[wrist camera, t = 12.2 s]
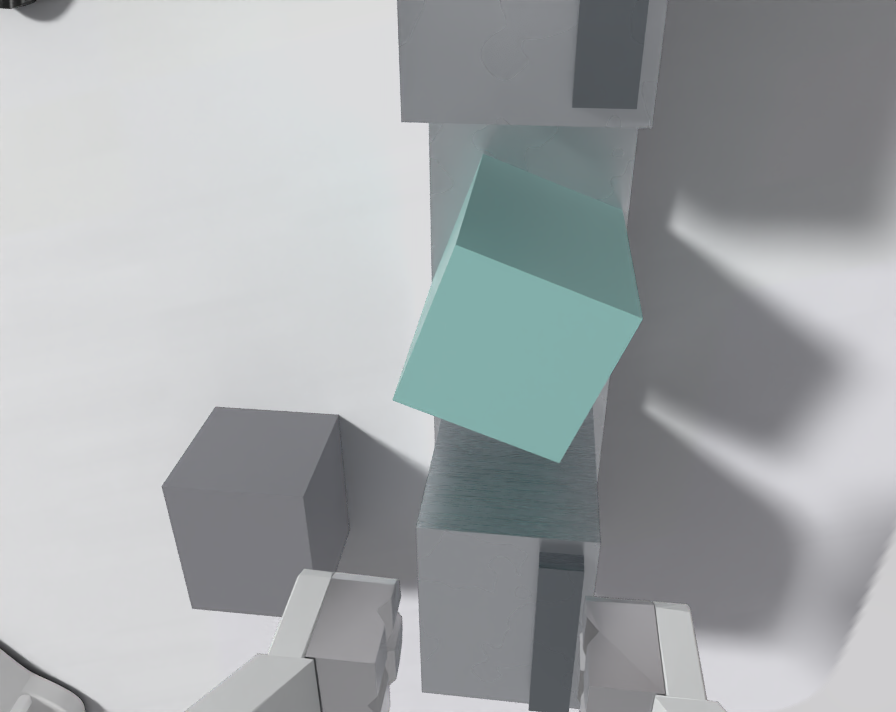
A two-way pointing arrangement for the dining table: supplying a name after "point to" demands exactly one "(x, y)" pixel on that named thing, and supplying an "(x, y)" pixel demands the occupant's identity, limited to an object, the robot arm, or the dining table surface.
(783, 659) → the dining table surface
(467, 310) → the block
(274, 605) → the block
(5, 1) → the phone
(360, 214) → the dining table surface
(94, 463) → the dining table surface
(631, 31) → the grey u-shaped cradle
